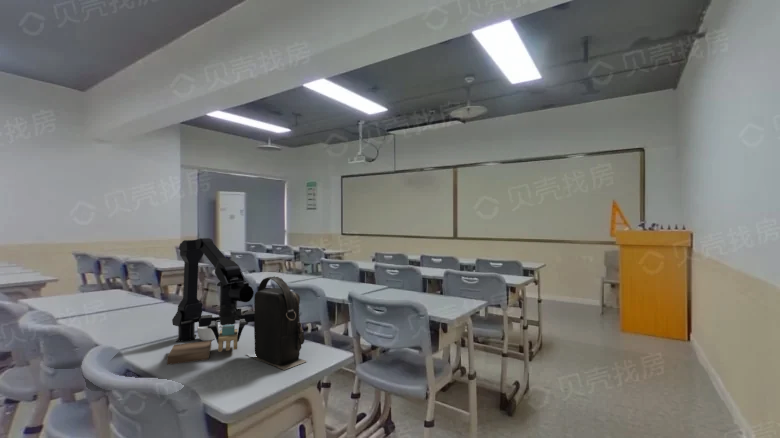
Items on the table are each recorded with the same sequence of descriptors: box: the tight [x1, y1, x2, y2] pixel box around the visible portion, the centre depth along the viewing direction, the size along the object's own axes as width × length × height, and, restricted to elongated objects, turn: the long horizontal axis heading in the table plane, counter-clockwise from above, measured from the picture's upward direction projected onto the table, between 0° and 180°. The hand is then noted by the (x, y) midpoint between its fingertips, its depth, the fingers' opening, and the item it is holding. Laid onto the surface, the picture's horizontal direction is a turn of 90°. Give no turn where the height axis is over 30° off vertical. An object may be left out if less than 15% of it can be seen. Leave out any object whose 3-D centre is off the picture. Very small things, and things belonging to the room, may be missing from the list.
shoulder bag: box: [253, 276, 308, 371], centre depth 123 cm, size 23×9×28 cm, turn 53°
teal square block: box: [222, 324, 236, 336], centre depth 130 cm, size 4×4×2 cm
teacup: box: [196, 323, 224, 342], centre depth 144 cm, size 10×8×5 cm
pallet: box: [217, 328, 239, 352], centre depth 130 cm, size 10×6×4 cm, turn 22°
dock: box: [166, 340, 212, 365], centre depth 125 cm, size 13×12×2 cm
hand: (228, 342), depth 130 cm, fingers closed on pallet, 6 cm apart
